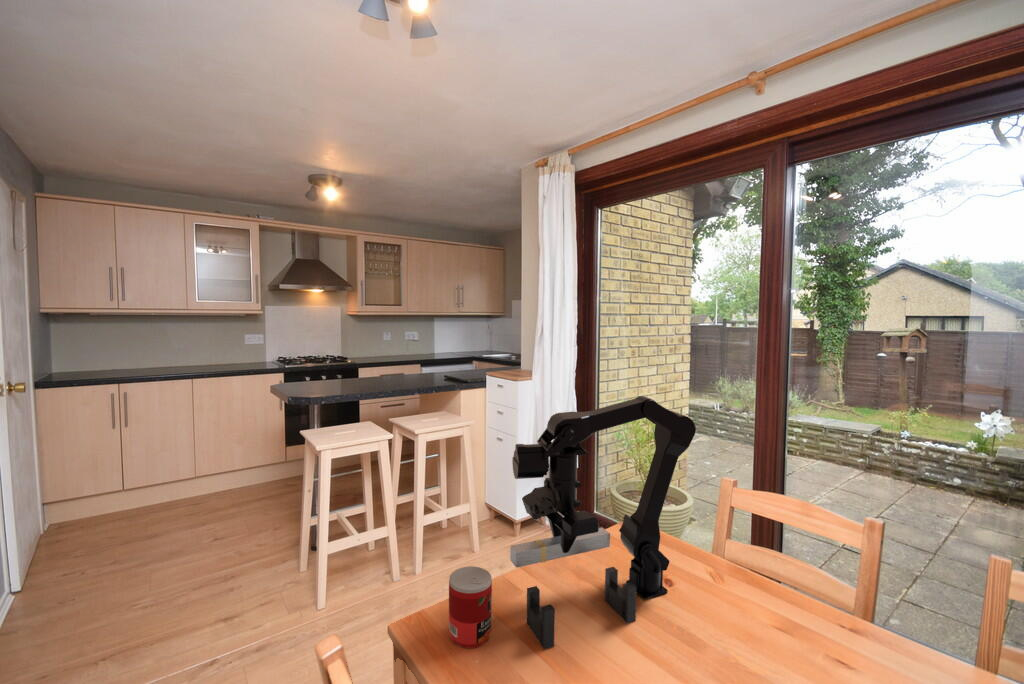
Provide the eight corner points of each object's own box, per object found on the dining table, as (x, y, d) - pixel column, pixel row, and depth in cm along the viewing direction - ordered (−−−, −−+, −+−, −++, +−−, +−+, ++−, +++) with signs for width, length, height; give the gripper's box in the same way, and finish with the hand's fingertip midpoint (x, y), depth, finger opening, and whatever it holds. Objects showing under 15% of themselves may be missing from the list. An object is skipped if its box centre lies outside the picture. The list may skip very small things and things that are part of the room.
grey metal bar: (601, 540, 100) (601, 526, 100) (609, 547, 98) (610, 533, 97) (510, 560, 92) (510, 545, 92) (516, 568, 89) (516, 552, 89)
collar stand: (612, 598, 95) (613, 566, 95) (635, 621, 88) (636, 586, 88) (526, 623, 88) (526, 588, 87) (544, 649, 81) (544, 611, 80)
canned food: (485, 652, 80) (486, 592, 79) (442, 645, 81) (442, 586, 81) (495, 623, 87) (496, 568, 87) (456, 617, 89) (456, 563, 88)
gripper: (509, 466, 99) (509, 535, 100) (549, 498, 82) (548, 581, 83) (554, 460, 104) (553, 526, 104) (601, 489, 86) (599, 568, 87)
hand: (561, 548), depth 95 cm, fingers closed on grey metal bar, 3 cm apart
